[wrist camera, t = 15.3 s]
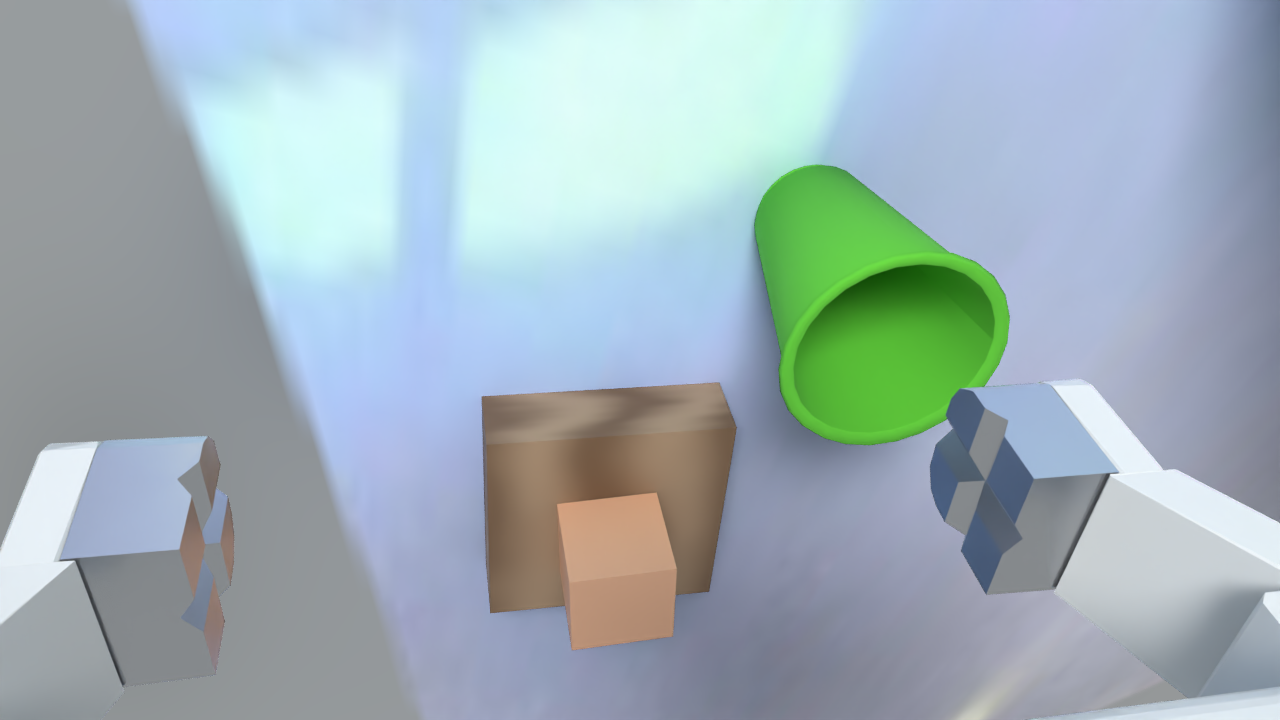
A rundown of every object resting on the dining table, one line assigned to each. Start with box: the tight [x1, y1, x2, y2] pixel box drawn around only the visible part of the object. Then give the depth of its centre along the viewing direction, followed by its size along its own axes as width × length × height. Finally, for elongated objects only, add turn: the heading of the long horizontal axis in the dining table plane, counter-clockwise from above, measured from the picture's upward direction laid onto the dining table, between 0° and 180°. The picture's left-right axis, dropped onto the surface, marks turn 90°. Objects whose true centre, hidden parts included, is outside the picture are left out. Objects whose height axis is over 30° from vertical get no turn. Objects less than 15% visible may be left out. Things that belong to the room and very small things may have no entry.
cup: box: [755, 165, 1010, 445], centre depth 43 cm, size 9×9×11 cm
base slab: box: [482, 383, 737, 613], centre depth 54 cm, size 12×12×4 cm
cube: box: [557, 492, 677, 650], centre depth 51 cm, size 5×5×5 cm
